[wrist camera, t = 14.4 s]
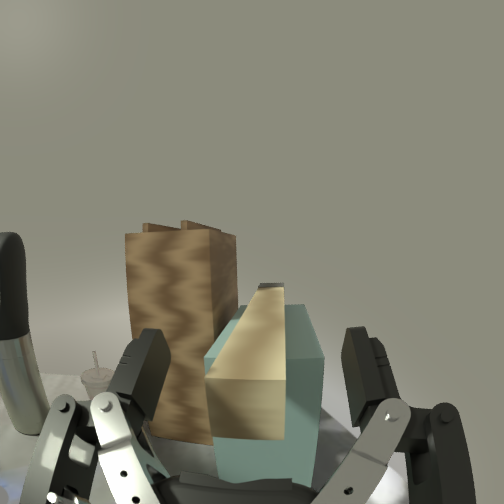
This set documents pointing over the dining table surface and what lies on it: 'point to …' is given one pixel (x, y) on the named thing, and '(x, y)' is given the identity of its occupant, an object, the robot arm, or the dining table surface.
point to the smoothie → (96, 379)
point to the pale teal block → (296, 410)
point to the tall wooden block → (182, 313)
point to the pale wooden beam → (251, 372)
